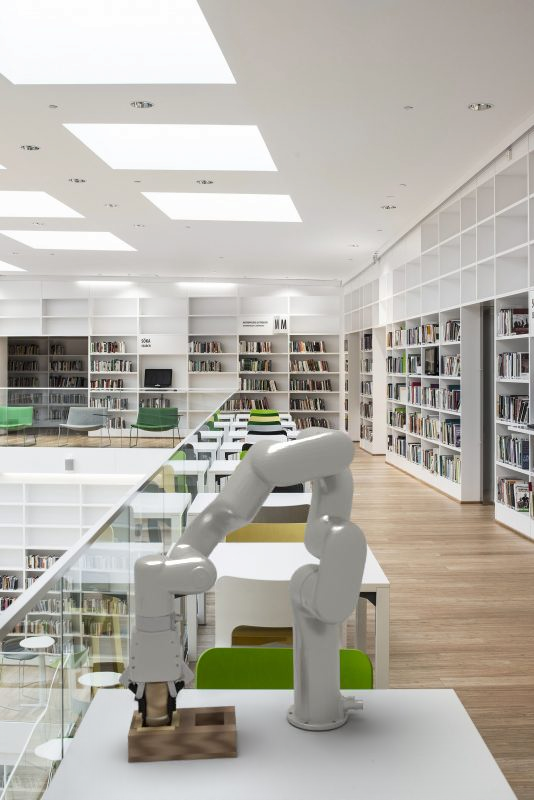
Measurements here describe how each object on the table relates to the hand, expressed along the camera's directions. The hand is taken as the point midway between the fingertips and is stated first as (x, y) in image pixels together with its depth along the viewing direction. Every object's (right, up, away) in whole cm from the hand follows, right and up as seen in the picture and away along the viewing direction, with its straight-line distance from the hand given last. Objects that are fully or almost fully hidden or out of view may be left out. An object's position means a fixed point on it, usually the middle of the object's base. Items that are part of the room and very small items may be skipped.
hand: (157, 714), depth 151 cm
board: (+5, -6, +1) cm, 8 cm away
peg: (0, -4, 0) cm, 4 cm away
